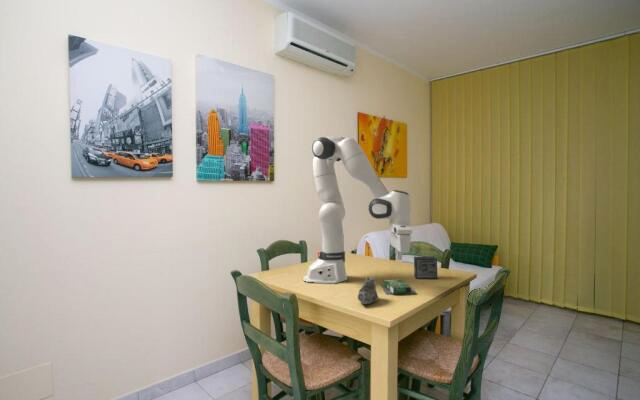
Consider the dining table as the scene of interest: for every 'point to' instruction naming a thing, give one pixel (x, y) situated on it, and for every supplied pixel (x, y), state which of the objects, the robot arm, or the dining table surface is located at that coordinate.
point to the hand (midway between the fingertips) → (398, 259)
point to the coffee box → (397, 286)
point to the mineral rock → (368, 291)
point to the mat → (392, 293)
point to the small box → (425, 267)
